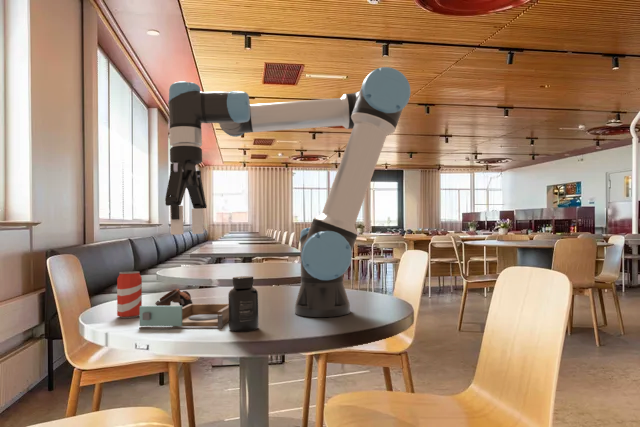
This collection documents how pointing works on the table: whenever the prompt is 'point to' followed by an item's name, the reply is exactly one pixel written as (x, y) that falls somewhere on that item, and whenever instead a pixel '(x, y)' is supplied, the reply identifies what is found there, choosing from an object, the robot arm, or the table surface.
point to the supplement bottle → (243, 305)
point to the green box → (160, 315)
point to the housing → (200, 317)
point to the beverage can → (129, 294)
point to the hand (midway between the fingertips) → (188, 234)
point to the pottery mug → (175, 298)
